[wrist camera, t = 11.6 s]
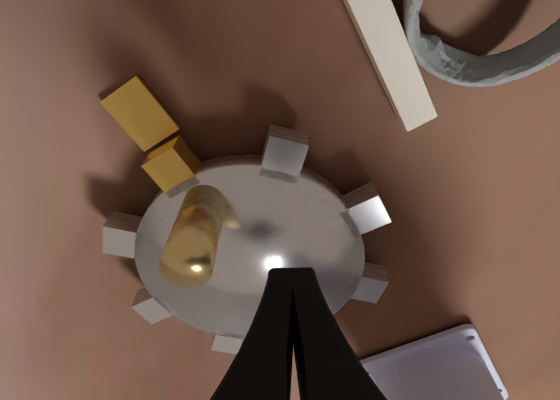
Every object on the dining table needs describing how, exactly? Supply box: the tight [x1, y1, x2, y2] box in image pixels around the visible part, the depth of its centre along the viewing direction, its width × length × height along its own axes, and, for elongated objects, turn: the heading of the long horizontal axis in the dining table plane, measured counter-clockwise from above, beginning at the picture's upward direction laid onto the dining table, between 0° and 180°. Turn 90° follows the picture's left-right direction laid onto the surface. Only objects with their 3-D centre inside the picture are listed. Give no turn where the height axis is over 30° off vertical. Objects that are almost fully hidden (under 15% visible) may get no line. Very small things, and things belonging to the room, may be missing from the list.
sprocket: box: [103, 124, 391, 354], centre depth 17 cm, size 14×14×5 cm
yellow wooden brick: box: [99, 75, 180, 152], centre depth 17 cm, size 12×4×1 cm, turn 32°
